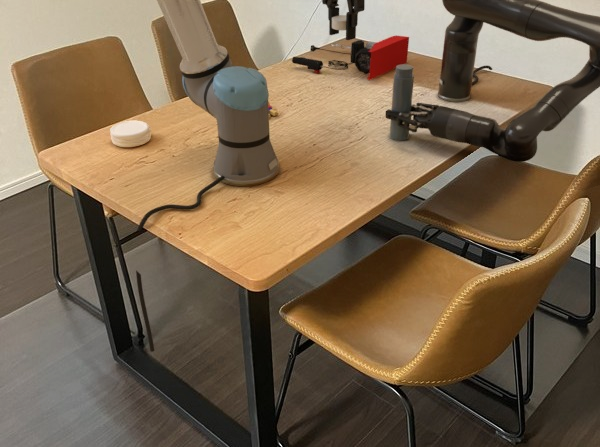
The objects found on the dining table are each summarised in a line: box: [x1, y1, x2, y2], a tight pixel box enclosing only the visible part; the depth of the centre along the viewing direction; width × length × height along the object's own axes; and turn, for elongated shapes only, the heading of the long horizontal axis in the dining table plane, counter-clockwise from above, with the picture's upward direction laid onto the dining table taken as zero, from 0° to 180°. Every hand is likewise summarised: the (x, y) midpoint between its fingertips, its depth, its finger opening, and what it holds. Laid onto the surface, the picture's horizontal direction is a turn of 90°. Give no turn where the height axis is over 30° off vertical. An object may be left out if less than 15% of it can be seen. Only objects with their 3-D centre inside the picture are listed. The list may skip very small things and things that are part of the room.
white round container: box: [109, 119, 152, 148], centre depth 160 cm, size 10×10×4 cm
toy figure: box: [268, 101, 278, 119], centre depth 176 cm, size 2×7×12 cm
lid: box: [332, 14, 346, 31], centre depth 158 cm, size 6×6×2 cm
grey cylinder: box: [389, 63, 415, 141], centre depth 156 cm, size 5×5×18 cm
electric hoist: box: [291, 35, 410, 81], centre depth 208 cm, size 10×27×30 cm
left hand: (342, 36), depth 159 cm, fingers closed on lid, 6 cm apart
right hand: (391, 110), depth 159 cm, fingers closed on grey cylinder, 5 cm apart
